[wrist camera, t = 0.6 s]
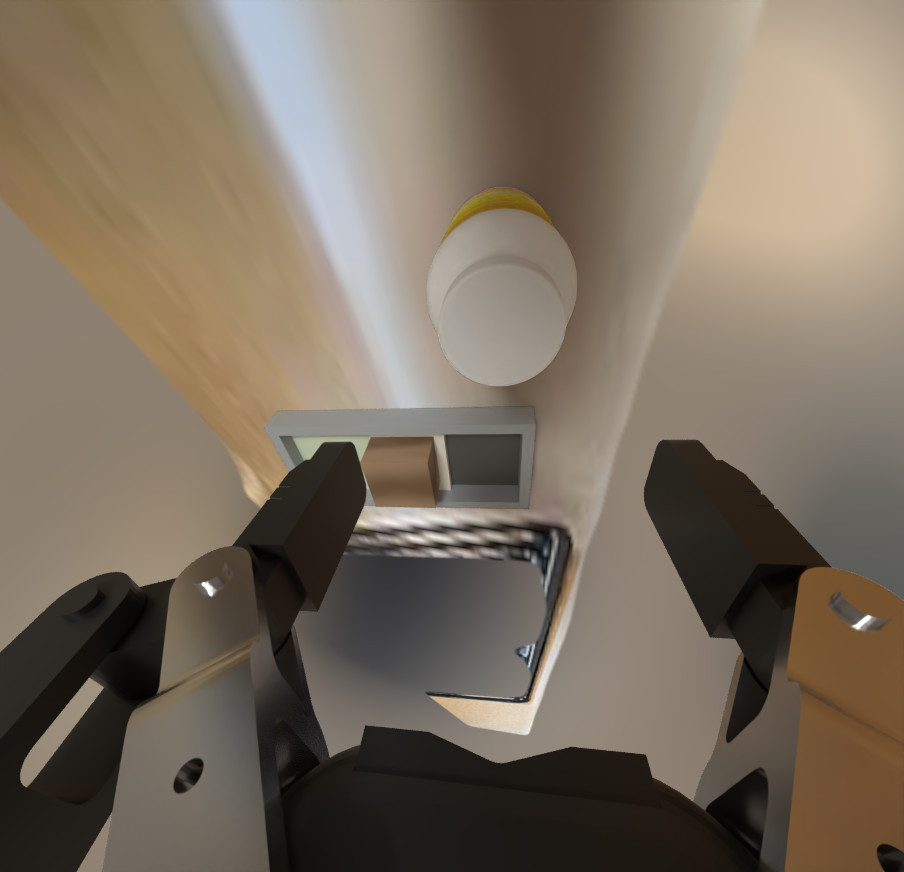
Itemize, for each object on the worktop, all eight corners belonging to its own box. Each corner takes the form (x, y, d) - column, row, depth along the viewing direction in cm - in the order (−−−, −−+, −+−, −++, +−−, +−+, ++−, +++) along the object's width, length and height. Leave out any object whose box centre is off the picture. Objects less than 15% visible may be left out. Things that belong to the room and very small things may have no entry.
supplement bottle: (428, 220, 22) (374, 284, 12) (531, 160, 19) (568, 179, 10) (472, 316, 25) (458, 425, 16) (563, 275, 23) (613, 374, 13)
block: (370, 437, 33) (359, 463, 30) (433, 436, 32) (427, 463, 29) (384, 480, 36) (375, 506, 34) (440, 480, 36) (435, 507, 33)
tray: (277, 411, 33) (263, 427, 31) (533, 406, 30) (535, 424, 28) (316, 487, 40) (307, 504, 38) (526, 490, 37) (528, 509, 35)
